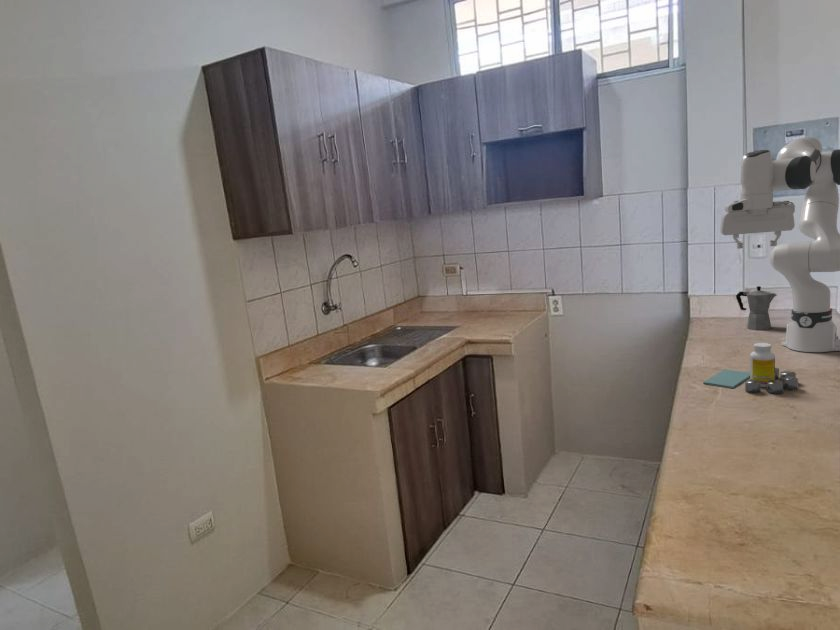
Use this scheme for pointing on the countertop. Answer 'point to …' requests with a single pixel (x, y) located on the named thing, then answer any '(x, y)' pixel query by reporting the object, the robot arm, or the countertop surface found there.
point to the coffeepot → (757, 308)
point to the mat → (728, 378)
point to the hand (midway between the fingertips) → (756, 247)
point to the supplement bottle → (762, 364)
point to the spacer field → (774, 383)
